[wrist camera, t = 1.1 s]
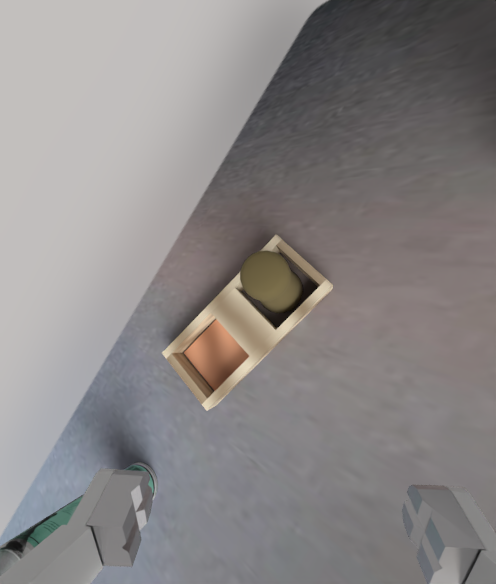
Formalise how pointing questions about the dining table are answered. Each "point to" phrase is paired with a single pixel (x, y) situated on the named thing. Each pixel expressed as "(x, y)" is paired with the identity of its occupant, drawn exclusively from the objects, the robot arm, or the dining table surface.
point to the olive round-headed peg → (271, 281)
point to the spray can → (51, 526)
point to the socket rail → (235, 334)
